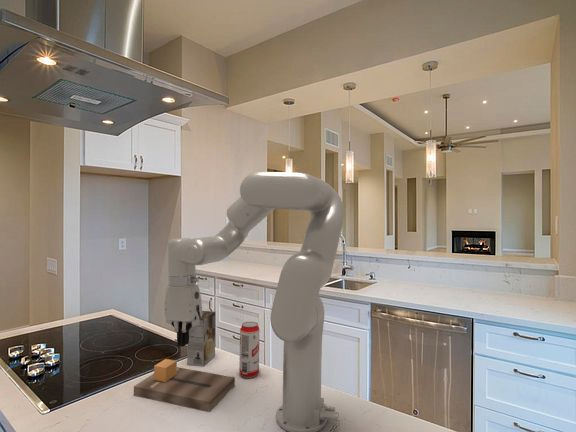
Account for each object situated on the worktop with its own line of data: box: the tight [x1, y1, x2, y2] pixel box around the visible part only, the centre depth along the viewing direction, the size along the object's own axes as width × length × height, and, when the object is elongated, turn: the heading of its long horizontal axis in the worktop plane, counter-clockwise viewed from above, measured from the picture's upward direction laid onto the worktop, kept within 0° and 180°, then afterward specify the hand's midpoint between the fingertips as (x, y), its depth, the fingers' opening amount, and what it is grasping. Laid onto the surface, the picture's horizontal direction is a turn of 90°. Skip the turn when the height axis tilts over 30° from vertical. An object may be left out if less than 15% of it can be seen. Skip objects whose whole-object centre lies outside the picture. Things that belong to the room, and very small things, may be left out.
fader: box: [153, 358, 178, 382], centre depth 96 cm, size 4×5×4 cm
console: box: [133, 366, 236, 413], centre depth 94 cm, size 24×14×3 cm, turn 72°
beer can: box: [238, 321, 261, 379], centre depth 105 cm, size 6×6×16 cm
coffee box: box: [186, 310, 216, 367], centre depth 115 cm, size 9×6×16 cm
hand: (183, 344), depth 95 cm, fingers closed
